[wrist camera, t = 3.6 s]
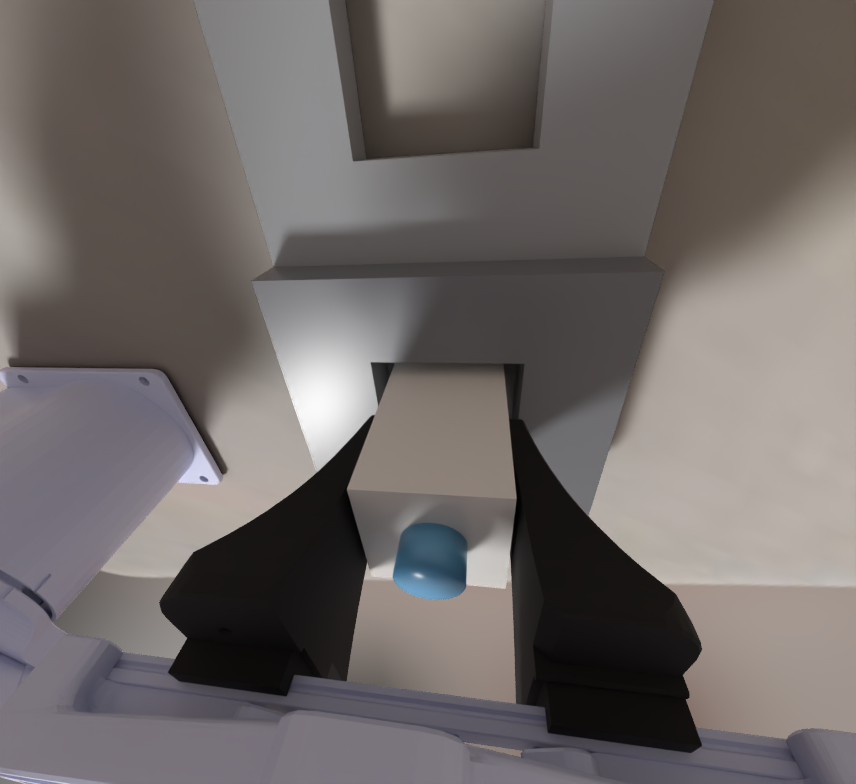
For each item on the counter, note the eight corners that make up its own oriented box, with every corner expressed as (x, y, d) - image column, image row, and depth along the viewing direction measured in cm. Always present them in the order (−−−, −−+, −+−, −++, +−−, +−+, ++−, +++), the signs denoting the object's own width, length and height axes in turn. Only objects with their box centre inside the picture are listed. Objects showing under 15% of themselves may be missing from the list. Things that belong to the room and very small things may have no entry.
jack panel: (346, 460, 20) (328, 505, 18) (143, -299, 7) (-22, -513, 5) (572, 471, 18) (586, 522, 16) (803, -474, 6) (1035, -915, 3)
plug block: (409, 426, 17) (362, 611, 10) (399, 350, 14) (333, 525, 8) (497, 429, 16) (507, 626, 10) (501, 350, 14) (520, 539, 7)
